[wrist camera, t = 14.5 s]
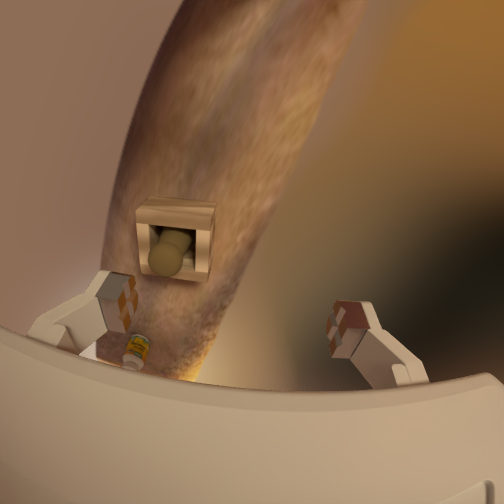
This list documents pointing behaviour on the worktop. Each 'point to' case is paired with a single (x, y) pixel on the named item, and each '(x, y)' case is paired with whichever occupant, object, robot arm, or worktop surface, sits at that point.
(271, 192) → the worktop surface
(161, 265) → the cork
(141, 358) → the supplement bottle
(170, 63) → the worktop surface
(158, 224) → the shaker holder
